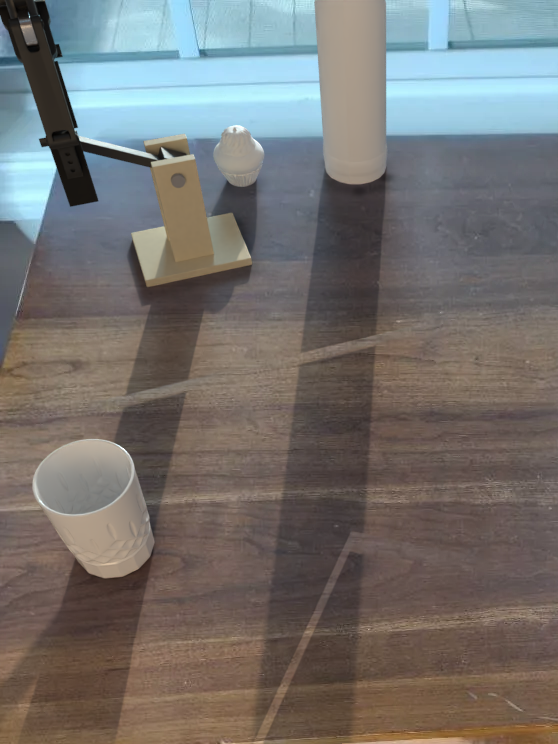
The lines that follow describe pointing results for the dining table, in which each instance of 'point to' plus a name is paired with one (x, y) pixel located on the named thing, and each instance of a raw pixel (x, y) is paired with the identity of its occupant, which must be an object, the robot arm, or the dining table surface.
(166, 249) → the bracket
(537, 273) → the dining table surface
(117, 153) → the lever
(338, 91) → the bottle
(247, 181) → the muffin
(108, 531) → the white cup
